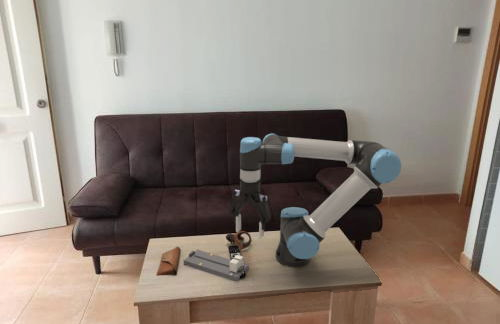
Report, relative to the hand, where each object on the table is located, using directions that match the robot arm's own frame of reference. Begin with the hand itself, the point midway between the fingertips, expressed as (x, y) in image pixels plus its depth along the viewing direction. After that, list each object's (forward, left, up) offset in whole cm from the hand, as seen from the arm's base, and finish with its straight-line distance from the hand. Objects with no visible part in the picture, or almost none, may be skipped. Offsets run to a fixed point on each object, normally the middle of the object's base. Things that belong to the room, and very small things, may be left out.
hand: (249, 233), depth 142 cm
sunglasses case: (+35, +8, -20) cm, 41 cm away
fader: (+6, 0, -17) cm, 18 cm away
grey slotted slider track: (+16, 0, -20) cm, 25 cm away
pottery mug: (+16, -20, -20) cm, 32 cm away
